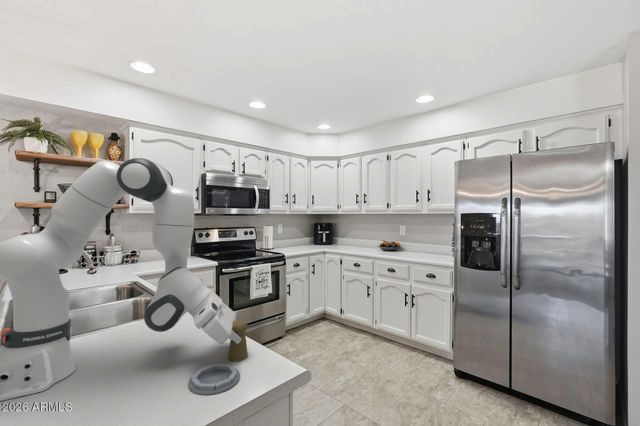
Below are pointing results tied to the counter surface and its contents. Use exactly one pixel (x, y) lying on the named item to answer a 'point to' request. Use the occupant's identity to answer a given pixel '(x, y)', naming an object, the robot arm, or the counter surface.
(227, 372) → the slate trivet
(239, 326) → the olive brown pepper mill
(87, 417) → the counter surface
